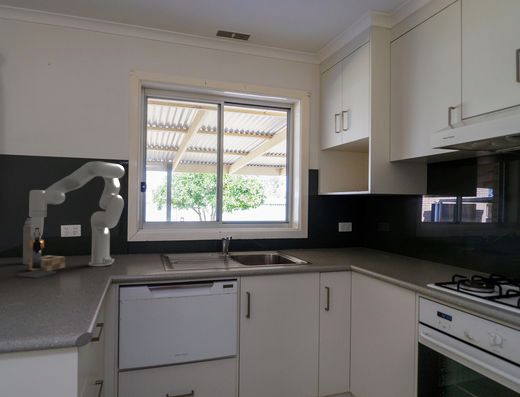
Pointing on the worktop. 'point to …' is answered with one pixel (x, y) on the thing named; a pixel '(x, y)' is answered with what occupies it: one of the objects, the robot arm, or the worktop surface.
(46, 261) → the eye block
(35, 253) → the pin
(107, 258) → the robot arm
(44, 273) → the mat
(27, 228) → the thermos bottle
